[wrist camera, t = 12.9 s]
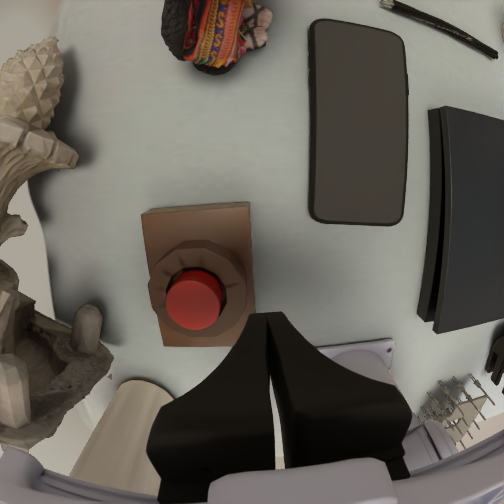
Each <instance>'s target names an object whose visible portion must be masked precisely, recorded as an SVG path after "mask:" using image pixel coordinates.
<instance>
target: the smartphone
mask: <svg viewBox="0 0 504 504" xmlns="http://www.w3.org/2000/svg"><path fill="white" fill-rule="evenodd" d="M309 33H310V40H309V48H310V53H309V63H310V68H311V71H310V86H311V149H310V186H309V213H310V216H311V217H312V218H313V219H314V220H315V221H317V222H320V223H324V224H344V225H369V226H393V225H396V224H398V223H399V222H400V221H401V219H402V217H403V214H404V204H405V193H406V180H407V162H408V95H409V88H408V74H407V68H406V55H405V46H404V42H403V40H402V39H401V37H400V36H398V35H397V34H395V33H393V32H391V31H387V30H383V29H379V28H375V27H370V26H365V25H361V24H355V23H350V22H344V21H339V20H332V19H317V20H315V21H313V22H312V23H311V25H310V29H309Z"/></svg>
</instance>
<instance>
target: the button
mask: <svg viewBox="0 0 504 504" xmlns="http://www.w3.org/2000/svg"><path fill="white" fill-rule="evenodd" d="M221 302H222V289H221V286H220V284H219V283H218V281H217V280H216V279H215V278H214V277H213V276H212V275H210V274H208V273H207V272H204V271H200V270H190V271H186V272H184V273H182V274H181V275H179V276H178V277H177V278H176V280H175V281H174V283H173V285H172V286H171V288H170V290H169V291H168V293H167V296H166V309H167V312H168V314H169V316H170V317H171V318H172V319H173V321H174V322H176V323H177V324H178V325H180V326H182V327H184V328H187V329H192V330H199V329H203V328H206V327H208V326H210V325H211V324H213V323H214V322H215V320H216V319H217V317H218V315H219V312H220V307H221Z"/></svg>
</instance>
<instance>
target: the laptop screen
mask: <svg viewBox="0 0 504 504" xmlns="http://www.w3.org/2000/svg"><path fill="white" fill-rule="evenodd" d="M440 115H441V124H442V134H443V146H444V162H445V230H444V246H443V259H442V269H441V278H440V286H439V293H438V300H437V307H436V313H435V319H434V324H433V331H434V332H435V333H436V334H440V333H445V332H449V331H454V330H458V329H463V328H467V327H471V326H475V325H479V324H483V323H487V322H491V321H494V320H498V319H502V318H504V121H503V120H500V119H497V118H493V117H490V116H486V115H482V114H479V113H475V112H471V111H467V110H462V109H458V108H453V107H449V106H443V107H440Z"/></svg>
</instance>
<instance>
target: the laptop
mask: <svg viewBox="0 0 504 504" xmlns="http://www.w3.org/2000/svg"><path fill="white" fill-rule="evenodd" d="M428 115H429V129H430V155H431V186H430V212H429V227H428V239H427V249H426V258H425V267H424V274H423V281H422V288H421V294H420V300H419V306H418V311H417V315H418V316H419V317H420V318H421V319H422V320H423V321H424V322H430V321H434V319H435V313H436V307H437V300H438V293H439V286H440V278H441V269H442V259H443V246H444V230H445V162H444V146H443V134H442V124H441V115H440V108H436V109H432V110H428Z"/></svg>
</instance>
